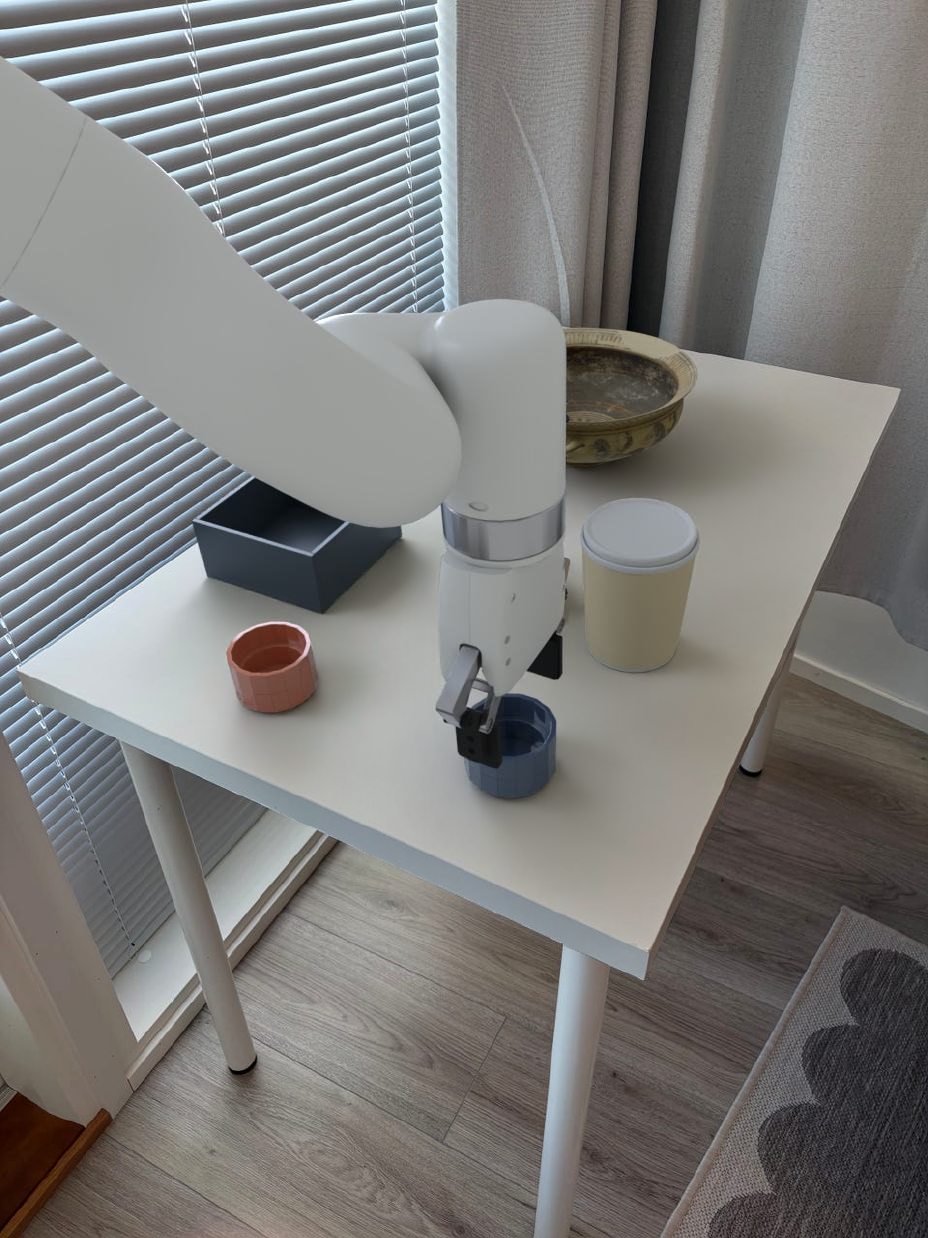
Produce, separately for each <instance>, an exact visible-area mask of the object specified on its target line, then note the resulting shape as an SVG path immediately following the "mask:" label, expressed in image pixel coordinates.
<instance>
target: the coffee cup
mask: <svg viewBox="0 0 928 1238" xmlns="http://www.w3.org/2000/svg"><path fill="white" fill-rule="evenodd" d="M579 542H580V546H581V564H582V565H581V567H582V585H583V586H582V587H583V603H584V605H583V606H584V607H583V608H584V625H585V626H584V627H585V636H586V637H585V638H586V645H587V646H586V647H587V649H588V652H589V653H590V654H591V655H592V657H593V658H594V659H595V660H596V661H597V662H598V663H600V664H601V665H603V666H604V667H607V668H609V669H612V670H614V671H615V670H616V671H619V672H625V673H646V672H650V671H654V670H657V669H659V668H662V667H663V666H665V665H666V664H667V663H669V662H670V661H671V659H672V658H673V656H674V655H675V654H676V651H677V647H678V644H679V640H680V635H681V629H682V626H683V621H684V616H685V612H686V606H687V602H688V597H689V591H690V587H691V582H692V577H693V573H694V572H693V571H694V569H695V562H696V556H697V553H698V551H699V548H700V543H701V535H700V531H699V529H698V527H697V524H696V522H695V519H693V518H692V517H691V516H690V514H689V513H688V512H686V511H685V510H683V508H681V507H678V506H676V505H674V504H672V503H669V502H667V501H662V500H659V499H653V498H646V497H628V498H627V497H626V498H621V499H616V500H612V501H609V502H606V503H604V504H601V505H600V506H598V507H596V508H595V509H593V510H592V511H591V512H590V513H589V515H587V517H586V519H585V520H584V523H582V525H581V528H580V532H579Z"/></svg>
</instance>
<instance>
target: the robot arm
mask: <svg viewBox="0 0 928 1238" xmlns="http://www.w3.org/2000/svg"><path fill="white" fill-rule="evenodd" d="M0 297H2V298H3V299H6V300H7V301H9V302H11V303H13V304H15V305H17V306H18V307H20V308H21V309H24V310H25V311H27V312H29V313H31V314H33V315H34V316H36V317H38V318H40V319H42V320H44V321H45V322H46V323H48V324H50V325H52V326H54V327H56V328H57V329H58V330H61V331H62V332H63V333H65V334H66V335H68V336H69V337H70V338H72V339H74V340H75V341H76V342H77V344H80V345H81V346H82V347H83V348H84V349H85V350H86V351H87V352H89V354H91V356H92V357H94V358H95V359H96V360H97V361H98V362H99V363H100V364H101V365H102V366H103V367H104V368H106V369H107V370H108V371H109V372H110V374H112V375H114V376H115V377H116V378H118V379H119V380H120V381H121V382H122V383H124V384H125V385H127V386H128V387H129V388H130V389H132V391H134V392H136V393H137V394H138V395H140V396H141V397H142V398H143V399H145V400H146V401H147V402H148V403H150V404H151V405H152V406H154V408H156V409H157V410H158V411H159V412H160V413H162V414H163V415H165V416H166V417H168V419H170V420H171V421H172V422H173V423H175V424H176V425H177V426H178V427H179V428H180V429H182V430H183V431H185V432H186V433H187V434H188V435H190V436H191V437H193V438H194V439H195V440H196V441H198V442H199V443H200V444H202V445H203V446H205V447H206V448H208V449H209V450H210V451H212V452H213V453H215V455H217V456H219V457H220V458H222V459H223V460H225V461H227V462H228V463H230V464H232V465H233V466H234V467H236V468H238V469H239V470H241V471H243V472H245V473H246V474H248V475H250V476H251V477H252V476H253V477H255V478H257V479H259V480H261V481H263V482H265V483H267V484H269V485H271V486H273V487H274V488H276V489H278V490H280V491H282V492H284V493H286V494H288V495H290V496H292V497H294V498H296V499H298V500H299V501H301V502H303V503H305V504H307V505H309V506H311V507H313V508H315V509H317V510H319V511H321V512H323V513H326V514H328V515H330V516H332V517H335V518H338V519H340V520H343V521H346V522H349V523H353V524H357V525H361V526H367V527H377V528H387V527H397V526H401V527H402V526H404V525H409V524H412V523H414V522H417V521H419V520H421V519H424V518H425V517H427V516H428V515H430V514H431V513H432V512H434V511H435V510H437V509H438V508H439V506H440V513H441V524H442V534H443V543H444V545H445V547H446V549H445V551H444V553H443V554H442V556H441V557H442V558H441V562H440V563H441V564H440V570H439V581H438V596H437V597H438V598H437V599H438V601H437V621H438V622H437V623H438V624H437V625H438V626H437V627H438V630H437V631H438V651H439V664H440V671H441V676H442V677H443V679H444V680H445V683H444V685H443V687H442V689H441V692H440V694H439V696H438V698H437V700H436V703H435V712H436V713H437V714H438V715H439V716H440V717H441V719H442V721H443V722H444V723H445V724H449V725H451V726H454V728H455V737H456V738H455V739H456V746H457V747H456V748H457V753H458V755H459V756H460V757H462V758H463V759H464V758H467V759H468V760H470V761H473V762H475V763H481V764H483V765H486V766H489V767H491V768H494V769H498V768H499V766H500V765H501V764H502V746H501V728H500V724H499V723H498V722H496V721H495V718H496V714H497V711H498V707H499V704H500V700H501V696H502V695H504V694H506V693H510V692H511V691H512V690H513V689H514V688H515V686H517V684H518V683H519V681H520V680H522V677H523V676H524V675H525V674H526V672H528V673H530V674H535V675H537V676H540V677H543V678H547V679H550V680H553V681H556V680H557V681H558V680H560V678H561V677H562V675H563V669H564V668H563V666H564V665H563V664H564V663H563V661H564V660H563V659H564V658H563V656H564V655H563V653H564V652H563V648H564V647H563V646H564V645H563V643H564V642H563V638H564V637H563V635H561V633H562V632H563V631H564V628H565V625H566V618H565V617H564V616H563V615H564V612H565V611H564V610H565V601H566V600H567V599H568V593H569V592H568V588H567V587H566V584H567V580H568V575H569V570H570V565H571V559H570V558H568V557H565V550H564V541H565V539H566V533H567V532H566V531H567V529H566V528H567V527H566V524H567V523H566V521H567V519H566V517H567V516H566V515H567V513H566V512H567V505H566V504H567V503H566V502H567V501H566V500H567V490H566V489H567V487H566V480H567V479H566V476H567V475H566V474H567V469H566V468H567V466H566V339H565V334H564V331H563V329H564V328H563V326H562V323H561V322H560V320H559V319H558V317H557V316H556V315H555V314H554V313H553V312H551V311H550V310H549V309H547V308H545V307H544V306H542V305H539V304H537V303H534V302H531V301H528V300H527V301H526V300H520V299H510V298H495V299H494V298H493V299H483V300H478V301H473V302H469V303H468V302H467V303H465V304H462V305H459V306H456V307H453V308H452V309H450V310H447V311H440V312H439V311H438V312H437V311H436V312H351V313H343V314H342V313H341V314H336V315H332V316H328V317H325V318H322V319H320V320H318V321H315V320H314V319H312V318H311V317H310V316H308V315H307V314H306V313H304V312H303V311H302V310H301V309H300V308H298V307H297V306H296V304H294V303H292V302H291V301H290V300H289V299H287V298H286V297H285V296H284V295H282V293H280V292H279V291H278V290H277V289H276V288H274V286H272V284H270V283H269V282H268V281H267V280H266V279H265V278H264V277H262V276H261V275H260V273H258V272H257V271H256V270H255V269H254V268H253V267H252V266H251V264H249V263H248V262H247V261H246V259H244V257H242V256H241V255H240V254H239V253H238V251H237V250H236V249H235V248H234V247H233V246H232V245H231V244H230V242H229V241H228V240H227V239H226V237H224V236H223V234H222V233H221V231H220V230H219V229H218V228H217V227H216V226H215V225H214V223H213V221H211V219H210V218H209V217H208V216H207V215H206V213H205V212H204V211H203V210H202V208H201V207H200V206H199V205H198V204H197V202H196V201H195V200H194V199H193V197H191V195H190V194H189V193H188V192H187V191H186V190H185V189H184V188H183V187H182V186H181V185H180V184H179V183H178V182H177V181H176V180H175V179H174V178H173V177H172V176H171V175H170V174H169V173H168V172H167V171H165V170H164V169H163V167H161V166H160V165H159V164H157V162H155V161H154V160H153V159H151V158H150V157H149V156H148V155H146V154H145V153H143V152H142V151H140V149H138V148H136V147H135V146H133V145H131V144H130V143H128V141H126V140H124V139H123V138H122V137H119V136H118V135H116V134H115V133H114V132H112V131H110V130H109V129H108V128H107V127H105V126H103V125H102V124H100V123H99V122H98V121H96V120H95V119H93V118H92V117H91V116H89V115H88V114H85V113H84V112H82V111H81V110H80V109H78V108H77V107H76V106H74V105H72V104H71V103H69V102H68V101H67V100H65V99H64V98H62V97H61V96H60V95H58V94H57V93H55V92H54V91H52V90H51V89H50V88H48V87H46V86H45V85H43V84H42V83H41V82H40V81H38V80H37V79H34V78H33V77H31V75H29V74H28V73H26V72H24V71H23V70H22V69H20V68H19V67H17V66H16V65H15V64H13V63H11V61H8V60H7V59H6V58H4V57H3V56H1V55H0ZM480 669H481V672H482V674H483V677H484V679H482V678H479V677H477V676H478V674H479V672H480ZM472 689H475V690H478V691H480V692H483V693H487V695H486V697H487V698H486V697H485V698H486V702H485V705H484V709H483V712H481V711H478V710H475V709H472V708H471V707H469V706H468V702H469V698H470V695H471V691H472Z"/></svg>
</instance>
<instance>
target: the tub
mask: <svg viewBox="0 0 928 1238" xmlns="http://www.w3.org/2000/svg"><path fill="white" fill-rule="evenodd" d="M191 525H192V527H193V531H194V535H195V538H196V542H197V545H198V550H199V553H200V556H201V559H202V564H203V567H204V571H205V574H206V576H207V577H208V578H211V579H214V580H217V581H220V582H223V583H226V584H229V585H232V586H235V587H238V588H242V589H244V590H247V591H251V592H253V593H257V594H260V595H262V596H266V597H269V598H272V599H275V600H277V601H281V602H284V603H287V604H290V605H293V606H296V607H300V608H302V609H304V610H305V609H306V610H309V611H312V612H314V613H318V614H319V615H323V614H324V613H326V612H327V611H328V609H330V607H332V606H333V605H334V604H335V603H336V602H337V601H338V600H339V599H340V598H341V597H342V596H343V595H344V594H345V593H346V592H348V590H349V589H350V588H352V587H353V585H354V584H355V583H356V582H358V581H359V580H360V578H361V577H362V576H363V575H365V574H366V573H367V572H368V571H369V570H370V569H371V568H372V567H373V566H374V565H375V564H377V562H378V561H379V560H381V558H382V557H383V556H385V554H386V553H387V552H388V551H390V550H391V549H392V547H393V546H395V545H396V544H397V543H398V542H399V541H400V540H401V539H402V538H403V530H402V525H401V526H397V527H387V528H377V527H367V526H361V525H357V524H353V523H349V522H346V521H343V520H340V519H338V518H335V517H332V516H330V515H328V514H326V513H323V512H321V511H319V510H317V509H315V508H313V507H311V506H309V505H307V504H305V503H303V502H301V501H299V500H298V499H296V498H294V497H292V496H290V495H288V494H286V493H284V492H282V491H280V490H278V489H276V488H274V487H273V486H271V485H269V484H267V483H265V482H263V481H261V480H259V479H257V478H255V477H253V476H252V475H251V476H250V477H249V478H248V479H246V480H245V481H243V482H242V483H240V485H238V486H237V487H235V488H234V489H233V490H231V491H230V492H228V493H227V494H226V495H224V497H221V498H220V499H219V500H218V501H216V502H215V503H214V504H212V505H211V506H210V507H208V508H207V509H206V510H205V511H203V512H201V513H200V514H198V516H196V517H195V518H193V520H191Z"/></svg>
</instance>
